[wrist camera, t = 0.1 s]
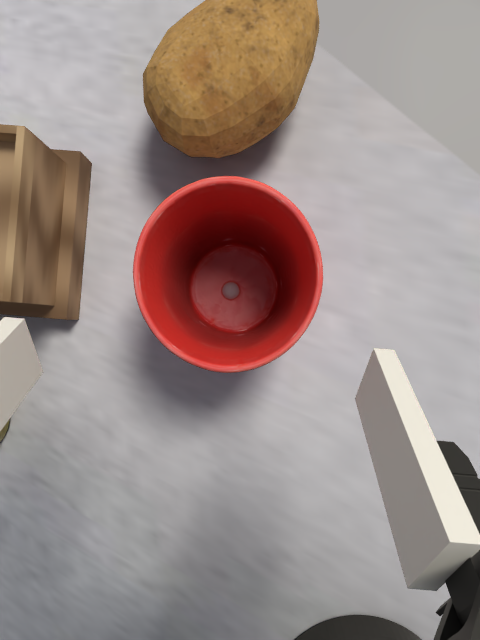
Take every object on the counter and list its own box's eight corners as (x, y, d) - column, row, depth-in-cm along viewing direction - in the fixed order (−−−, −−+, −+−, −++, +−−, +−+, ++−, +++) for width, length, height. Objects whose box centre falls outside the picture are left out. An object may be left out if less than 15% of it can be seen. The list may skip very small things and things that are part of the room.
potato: (338, 92, 29) (374, 5, 21) (213, 208, 29) (201, 166, 21) (257, 6, 29) (262, -112, 21) (133, 122, 29) (91, 48, 21)
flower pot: (163, 350, 29) (122, 365, 20) (174, 218, 29) (139, 166, 20) (291, 361, 29) (315, 381, 19) (302, 228, 29) (331, 182, 19)
